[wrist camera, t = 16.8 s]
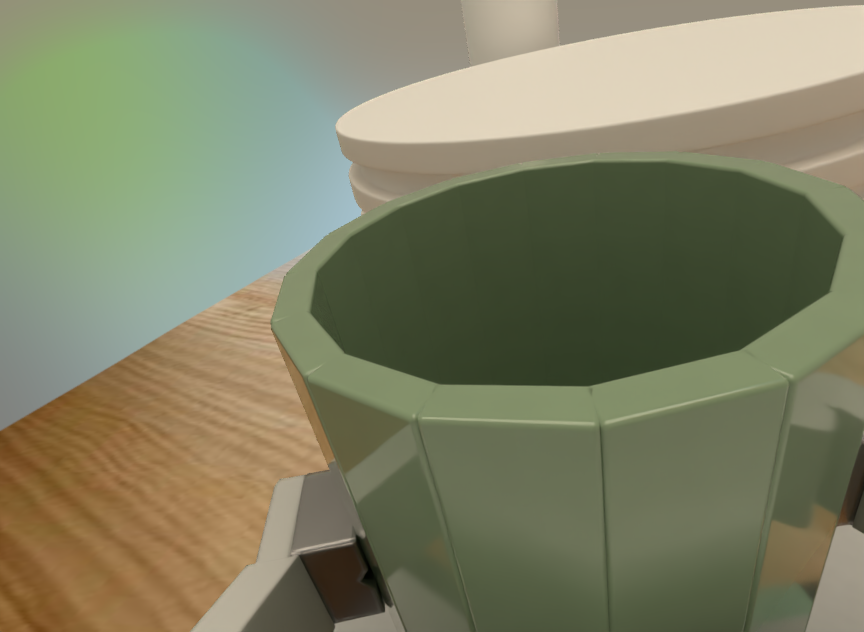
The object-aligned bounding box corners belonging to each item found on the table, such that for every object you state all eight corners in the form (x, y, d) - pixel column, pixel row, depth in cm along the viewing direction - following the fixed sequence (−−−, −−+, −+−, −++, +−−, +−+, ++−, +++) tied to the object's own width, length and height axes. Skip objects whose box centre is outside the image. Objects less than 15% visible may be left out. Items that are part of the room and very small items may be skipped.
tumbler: (858, 833, 8) (1179, 286, 3) (464, 932, 8) (205, 523, 3) (655, 508, 14) (666, 127, 9) (420, 565, 14) (302, 212, 9)
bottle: (574, 185, 46) (545, -297, 31) (486, 199, 48) (418, -255, 33) (564, 161, 53) (536, -244, 38) (487, 174, 54) (432, -211, 40)
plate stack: (386, 230, 46) (351, 92, 40) (703, 162, 45) (713, 11, 39) (386, 467, 21) (295, 198, 16) (1082, 326, 20) (1255, -13, 15)
